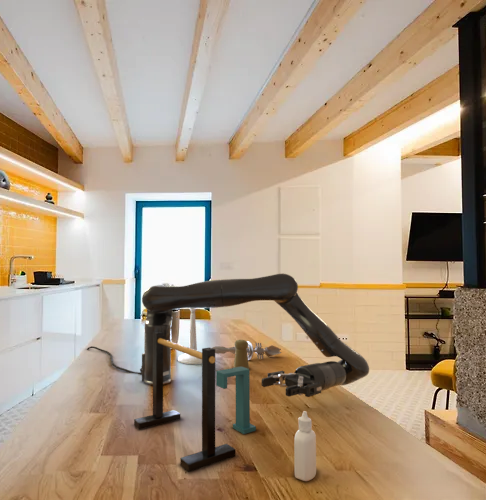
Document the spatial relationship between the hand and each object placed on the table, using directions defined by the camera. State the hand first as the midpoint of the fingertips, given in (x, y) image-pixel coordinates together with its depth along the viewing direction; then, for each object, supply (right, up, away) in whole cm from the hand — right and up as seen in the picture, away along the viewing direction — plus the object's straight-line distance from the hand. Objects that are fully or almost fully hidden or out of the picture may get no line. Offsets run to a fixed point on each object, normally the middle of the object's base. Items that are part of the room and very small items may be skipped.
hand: (274, 387), depth 98 cm
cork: (0, -11, +48) cm, 49 cm away
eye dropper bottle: (-1, -8, -25) cm, 27 cm away
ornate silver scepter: (+5, -11, +62) cm, 63 cm away
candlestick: (-18, -11, +61) cm, 64 cm away
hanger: (-11, -8, -7) cm, 16 cm away
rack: (-25, -8, -11) cm, 28 cm away
